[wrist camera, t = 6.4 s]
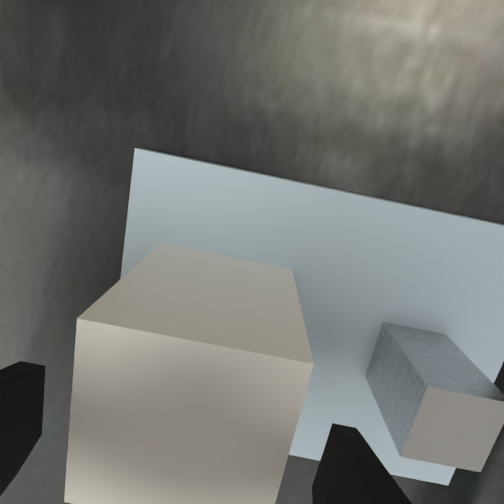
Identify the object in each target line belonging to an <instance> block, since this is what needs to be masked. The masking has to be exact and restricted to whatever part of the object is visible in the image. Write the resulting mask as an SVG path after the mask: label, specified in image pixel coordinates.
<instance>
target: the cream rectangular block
mask: <svg viewBox="0 0 504 504" xmlns="http://www.w3.org/2000/svg"><path fill="white" fill-rule="evenodd" d="M313 365H314V363H313V359H312V354H311V350H310V345H309V341H308V336H307V332H306V328H305V323H304V319H303V314H302V310H301V305H300V301H299V297H298V292H297V288H296V283H295V279H294V274H293V270H292V269H291V268H286V267H281V266H276V265H270V264H265V263H260V262H255V261H250V260H245V259H240V258H235V257H230V256H225V255H220V254H215V253H210V252H205V251H200V250H195V249H190V248H185V247H180V246H175V245H170V244H165V243H160V244H159V245H158V246H157V247H156V248H155V249H154V250H153V251H151V252H150V253H149V254H148V255H147V256H146V257H145V258H144V259H143V260H141V261H140V262H139V263H138V264H137V265H136V266H135V267H134V268H133V269H131V270H130V271H129V272H128V273H127V274H126V275H125V276H124V277H123V278H121V279H120V280H119V281H118V282H117V283H116V284H115V285H114V286H113V287H111V288H110V289H109V290H108V291H107V292H106V293H105V294H104V295H103V296H101V297H100V298H99V299H98V300H97V301H96V302H95V303H94V304H93V305H91V306H90V307H89V308H88V309H87V310H86V311H85V312H84V313H83V314H81V315H80V316H79V317H78V318H77V327H76V341H75V355H74V370H73V384H72V398H71V412H70V426H69V440H68V454H67V468H66V483H65V497H64V502H67V503H73V504H275V502H276V498H277V495H278V491H279V488H280V484H281V480H282V477H283V473H284V470H285V466H286V462H287V459H288V455H289V452H290V448H291V444H292V441H293V437H294V434H295V430H296V426H297V423H298V419H299V416H300V412H301V408H302V405H303V401H304V398H305V394H306V390H307V387H308V383H309V380H310V376H311V372H312V369H313Z"/></svg>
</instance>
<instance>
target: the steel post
mask: <svg viewBox="0 0 504 504" xmlns="http://www.w3.org/2000/svg"><path fill="white" fill-rule="evenodd" d="M365 378H366V380H367V382H368V385H369V387H370V389H371V391H372V394H373V396H374V398H375V401H376V403H377V405H378V407H379V410H380V412H381V414H382V416H383V419H384V421H385V423H386V426H387V428H388V430H389V432H390V435H391V437H392V439H393V442H394V444H395V446H396V448H397V451H398V453H399V455H400V457H404V458H410V459H415V460H420V461H425V462H430V463H435V464H440V465H445V466H451V467H456V468H461V469H466V470H471V471H476V472H481V470H482V468H483V466H484V464H485V462H486V460H487V457H488V455H489V453H490V451H491V449H492V447H493V445H494V443H495V441H496V438H497V436H498V434H499V432H500V430H501V428H502V426H503V424H504V394H503V393H502V392H501V391H500V390H499V389H498V388H497V387H496V386H495V385H494V384H493V383H492V382H491V381H490V380H489V379H488V378H487V376H486V375H485V374H484V373H483V372H482V371H481V370H480V369H479V368H478V367H477V366H476V365H475V364H474V363H473V362H472V361H471V360H470V359H469V358H468V357H467V356H466V355H465V354H464V353H463V352H462V351H461V350H460V349H459V348H458V347H457V346H456V345H455V344H454V343H453V342H452V341H451V339H450V338H449V337H448V336H447V335H446V334H441V333H436V332H431V331H426V330H421V329H416V328H411V327H407V326H402V325H397V324H392V323H387V322H383V324H382V327H381V330H380V333H379V336H378V339H377V342H376V345H375V348H374V351H373V354H372V357H371V360H370V363H369V366H368V369H367V372H366V375H365Z"/></svg>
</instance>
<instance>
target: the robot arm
mask: <svg viewBox="0 0 504 504" xmlns="http://www.w3.org/2000/svg"><path fill="white" fill-rule="evenodd" d="M44 382H45V366H43V365H38V364H33V363H27V362H22V361H20V362H18V363H15V364H13V365H10V366H8V367H6V368H3V369H1V370H0V496H1V494H2V493H3V492H4V490H5V489H6V488H7V487H8V485H9V484H10V483H11V481H12V480H13V479H14V477H15V476H16V474H17V473H18V471H19V470H20V468H21V467H22V465H23V464H24V462H25V460H26V459H27V457H28V456H29V454H30V452H31V451H32V449H33V447H34V446H35V444H36V442H37V441H38V439H39V438H40V436H41V434H42V419H43V401H44ZM312 495H313V504H412V503H411V502H410V501H409V499H408V498H407V497H406V495H405V494H404V493H403V491H402V490H401V489H400V487H399V486H398V485H397V483H396V482H395V480H394V479H393V478H392V476H391V475H390V474H389V472H388V471H387V469H386V468H385V467H384V465H383V464H382V463H381V461H380V460H379V458H378V457H377V456H376V454H375V453H374V451H373V450H372V449H371V447H370V446H369V444H368V443H367V442H366V440H365V439H364V437H363V436H362V435H361V433H360V432H359V431H358V429H357V428H355V427H350V426H344V425H339V424H334V423H332V426H331V429H330V432H329V435H328V438H327V442H326V445H325V448H324V451H323V454H322V457H321V460H320V464H319V467H318V470H317V473H316V476H315V479H314V482H313V486H312Z"/></svg>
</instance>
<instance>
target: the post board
mask: <svg viewBox="0 0 504 504" xmlns="http://www.w3.org/2000/svg"><path fill="white" fill-rule="evenodd" d="M160 243H165V244H170V245H175V246H180V247H185V248H190V249H195V250H200V251H205V252H210V253H215V254H220V255H225V256H230V257H235V258H240V259H245V260H250V261H255V262H260V263H265V264H270V265H276V266H281V267H286V268H291V269H292V270H293V274H294V279H295V283H296V288H297V292H298V297H299V301H300V305H301V310H302V314H303V319H304V323H305V328H306V332H307V336H308V341H309V345H310V350H311V354H312V359H313V363H314V365H313V369H312V372H311V376H310V380H309V383H308V387H307V390H306V394H305V398H304V401H303V405H302V408H301V412H300V416H299V419H298V423H297V426H296V430H295V434H294V437H293V441H292V444H291V448H290V452H289V455H293V456H299V457H304V458H309V459H314V460H319V461H320V460H321V457H322V454H323V451H324V448H325V445H326V442H327V438H328V435H329V432H330V429H331V426H332V423H334V424H339V425H344V426H350V427H355V428H357V429H358V431H359V432H360V433H361V435H362V436H363V437H364V439H365V440H366V442H367V443H368V444H369V446H370V447H371V449H372V450H373V451H374V453H375V454H376V456H377V457H378V458H379V460H380V461H381V463H382V464H383V465H384V467H385V468H386V469H387V471H388V472H389V474H392V475H397V476H402V477H407V478H412V479H417V480H423V481H428V482H433V483H438V484H443V485H448V484H449V482H450V480H451V478H452V475H453V473H454V471H455V469H456V467H451V466H445V465H440V464H435V463H430V462H425V461H420V460H415V459H410V458H404V457H400V455H399V453H398V451H397V448H396V446H395V444H394V442H393V439H392V437H391V435H390V432H389V430H388V428H387V426H386V423H385V421H384V419H383V416H382V414H381V412H380V410H379V407H378V405H377V403H376V401H375V398H374V396H373V394H372V391H371V389H370V387H369V385H368V382H367V380H366V378H365V375H366V372H367V369H368V366H369V363H370V360H371V357H372V354H373V351H374V348H375V345H376V342H377V339H378V336H379V333H380V330H381V327H382V324H383V322H387V323H392V324H397V325H402V326H407V327H411V328H416V329H421V330H426V331H431V332H436V333H441V334H446V335H447V336H448V337H449V338H450V339H451V341H452V342H453V343H454V344H455V345H456V346H457V347H458V348H459V349H460V350H461V351H462V352H463V353H464V354H465V355H466V356H467V357H468V358H469V359H470V360H471V361H472V362H473V363H474V364H475V365H476V366H477V367H478V368H479V369H480V370H481V371H482V372H483V373H484V374H485V375H486V376H487V378H488V379H489V380H490V381H491V382H492V383H493V384H494V382H495V379H496V377H497V375H498V373H499V371H500V368H501V366H502V364H503V362H504V224H500V223H495V222H490V221H486V220H481V219H476V218H471V217H467V216H462V215H457V214H452V213H448V212H443V211H438V210H433V209H429V208H424V207H419V206H414V205H410V204H405V203H400V202H395V201H391V200H386V199H381V198H376V197H371V196H367V195H362V194H357V193H352V192H348V191H343V190H338V189H333V188H329V187H324V186H319V185H314V184H310V183H305V182H300V181H295V180H291V179H286V178H281V177H276V176H272V175H267V174H262V173H257V172H252V171H248V170H243V169H238V168H233V167H229V166H224V165H219V164H214V163H210V162H205V161H200V160H195V159H191V158H186V157H181V156H176V155H172V154H167V153H162V152H157V151H153V150H148V149H143V148H135V151H134V160H133V169H132V178H131V187H130V196H129V205H128V214H127V223H126V233H125V242H124V251H123V260H122V269H121V278H123V277H124V276H125V275H126V274H127V273H128V272H129V271H130V270H131V269H133V268H134V267H135V266H136V265H137V264H138V263H139V262H140V261H141V260H143V259H144V258H145V257H146V256H147V255H148V254H149V253H150V252H151V251H153V250H154V249H155V248H156V247H157V246H158V245H159V244H160ZM121 278H120V279H121Z"/></svg>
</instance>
